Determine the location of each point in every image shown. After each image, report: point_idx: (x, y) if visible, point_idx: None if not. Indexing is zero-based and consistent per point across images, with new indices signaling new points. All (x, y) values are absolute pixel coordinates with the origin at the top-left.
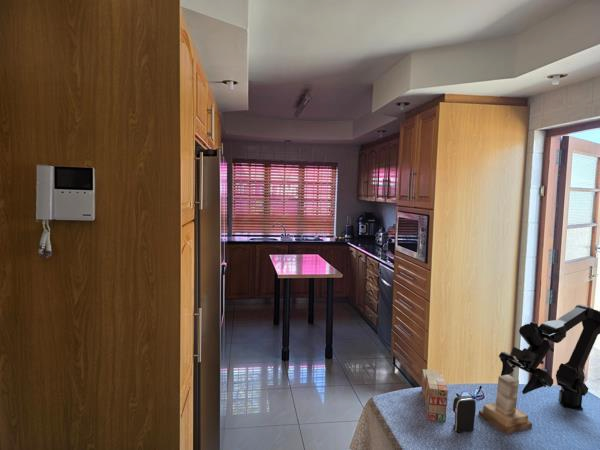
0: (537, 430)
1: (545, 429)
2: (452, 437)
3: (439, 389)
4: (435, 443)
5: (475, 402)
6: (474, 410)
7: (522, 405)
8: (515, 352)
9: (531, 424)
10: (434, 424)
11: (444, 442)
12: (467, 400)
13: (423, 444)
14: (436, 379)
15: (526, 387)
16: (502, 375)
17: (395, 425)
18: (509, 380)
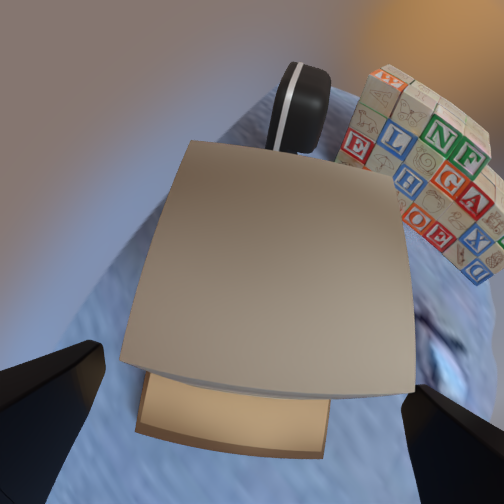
0: (116, 427)
1: (104, 463)
2: (263, 132)
3: (379, 69)
4: (264, 99)
5: (276, 97)
6: (269, 126)
7: None
8: None
9: (137, 427)
10: (330, 142)
11: (257, 111)
12: (288, 70)
13: (273, 88)
14: (446, 109)
15: (33, 365)
16: (452, 412)
17: (348, 97)
18: (228, 186)
